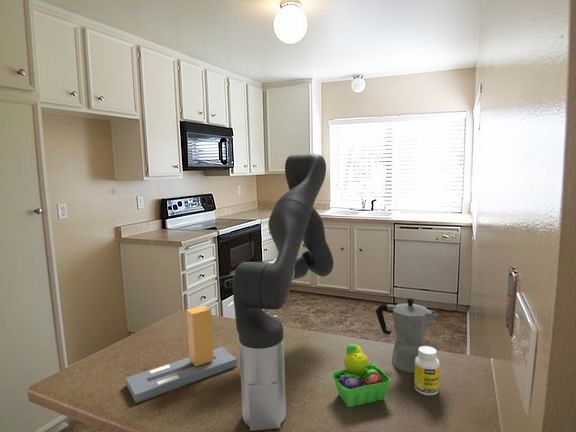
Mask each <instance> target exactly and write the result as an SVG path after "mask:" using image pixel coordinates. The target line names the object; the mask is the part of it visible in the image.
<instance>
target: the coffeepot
mask: <svg viewBox="0 0 576 432" xmlns="http://www.w3.org/2000/svg"><path fill="white" fill-rule="evenodd" d="M406 301H407V303H397V304H396V305H395V304H386V303H385V304H384V303H381V304H379V306H378V307H377V308H376V309H375V314H376V316H377V319H378V322H379V325H380V328H381V331H382V333H383V334H384V335H391V334H392V331H390V330H388V329H387V324H386V322H385V316H384V313H383V312H387V313H390V314H392V319H393V324H394V332H395V334H396V338H395V341H394V345H393V346H394V347H393V350H392V355H391V363H392V365H393V366H394V367H395V368H396V369H398V370H399V371H401V372H405V373H410V374H415V358H416V357H417V356H418V349H419V347H421V346H426V344H425V341H424V337H425V336H426V334H427V329H428V326H429V325H430V324H431V322H432V321H433V319H434V318H435V317H438V316H439V315H438V312H436V311H434V310H431V309H428V308H427V307H426V306H424V305H419V304H415V303H414V298H412V297H407V298H406Z"/></svg>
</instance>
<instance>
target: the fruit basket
mask: <svg viewBox="0 0 576 432" xmlns="http://www.w3.org/2000/svg"><path fill="white" fill-rule="evenodd" d="M343 362H344V367H345V369H342V370H337V371H334V372H332V373H331V375H332V378H333V380H334V383H335V386H336V390H337V393H338V396H339V397H340V398H341V400H342V401H343V403H344V404H345V405H346V407H347V408H352V407H355V406H360V405H365V404H370V403H374V402H376V401H383V400H385V396H386V393H387V390H388V386H389V385H390V383H391V378H390V377H389V376H388V375H387V374H386V373H385V372H384V370H382V369H381V368H380V367H379V366H378V365H377V364H373V363H372V364H369V360H368V357H367V355H366V353H364V352H363V350H362V348H361V346H359V345H357V344H355V343H354V342H353V343H349V344H348V345H347V346H346V353H345V357H344V361H343Z"/></svg>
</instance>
